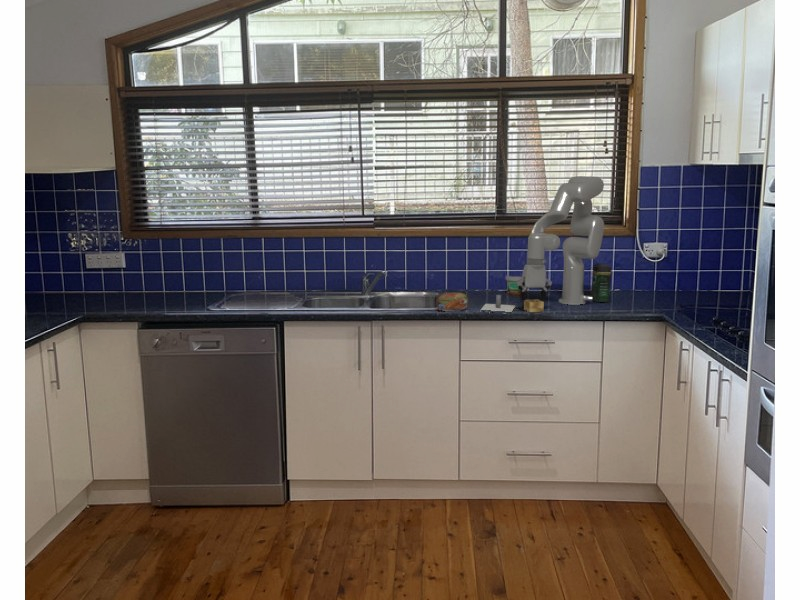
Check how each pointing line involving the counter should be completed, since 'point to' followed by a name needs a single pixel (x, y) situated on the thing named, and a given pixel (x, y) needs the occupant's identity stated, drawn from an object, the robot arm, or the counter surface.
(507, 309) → the post base
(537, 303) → the tan wooden block
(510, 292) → the food container
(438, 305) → the tin
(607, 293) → the coffee jar
